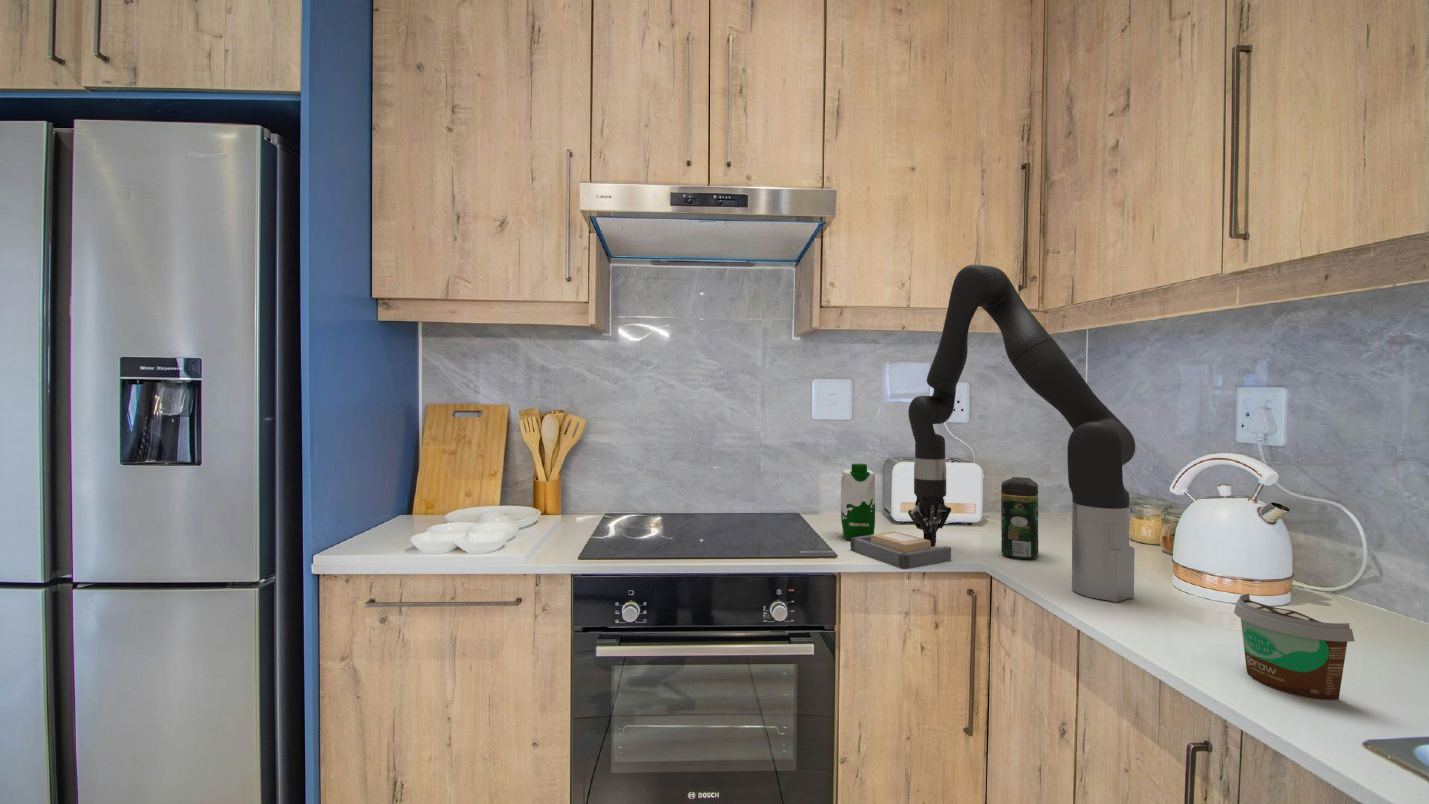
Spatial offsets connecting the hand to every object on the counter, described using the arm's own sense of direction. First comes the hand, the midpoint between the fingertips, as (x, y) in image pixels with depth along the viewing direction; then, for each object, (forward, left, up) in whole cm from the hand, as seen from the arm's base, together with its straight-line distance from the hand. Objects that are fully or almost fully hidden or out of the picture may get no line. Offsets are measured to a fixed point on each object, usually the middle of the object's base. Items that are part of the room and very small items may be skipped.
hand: (929, 546), depth 145 cm
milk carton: (+18, +7, -1) cm, 20 cm away
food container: (-70, +11, -1) cm, 71 cm away
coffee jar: (-13, -16, -1) cm, 20 cm away
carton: (-2, +11, -1) cm, 12 cm away
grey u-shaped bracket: (0, +9, -1) cm, 9 cm away
